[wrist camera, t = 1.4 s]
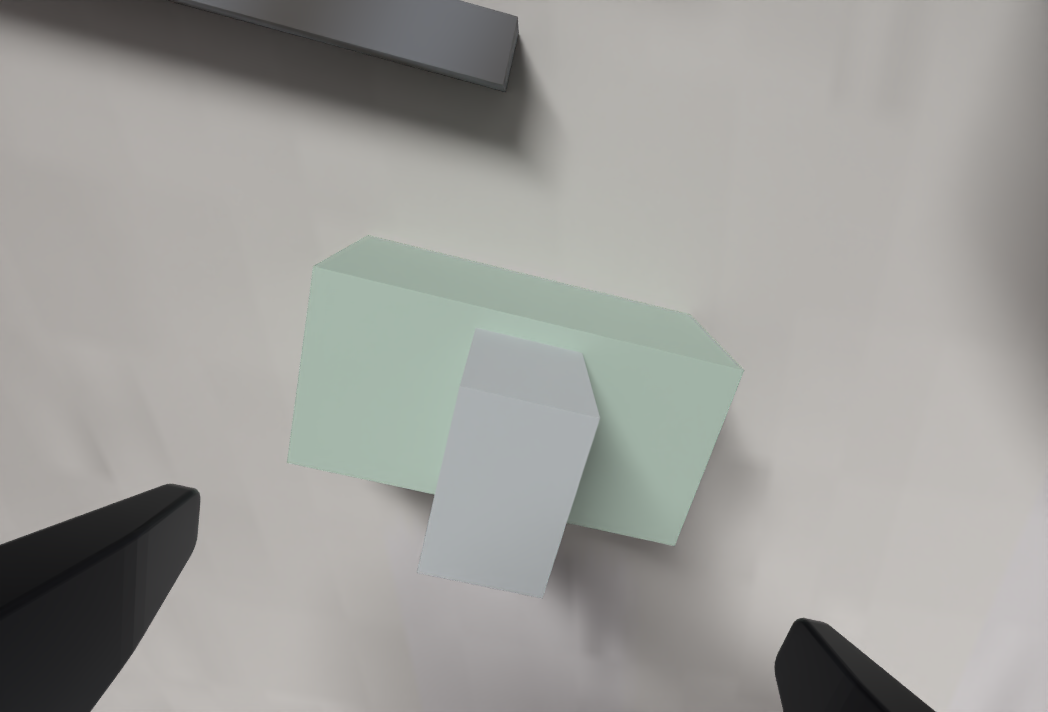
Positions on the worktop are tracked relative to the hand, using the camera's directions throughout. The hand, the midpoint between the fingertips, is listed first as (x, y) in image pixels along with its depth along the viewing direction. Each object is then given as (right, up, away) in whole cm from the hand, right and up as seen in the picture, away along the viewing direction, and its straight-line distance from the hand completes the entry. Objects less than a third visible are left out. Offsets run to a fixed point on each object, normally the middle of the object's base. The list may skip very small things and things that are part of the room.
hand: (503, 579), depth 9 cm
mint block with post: (0, +3, +10) cm, 11 cm away
